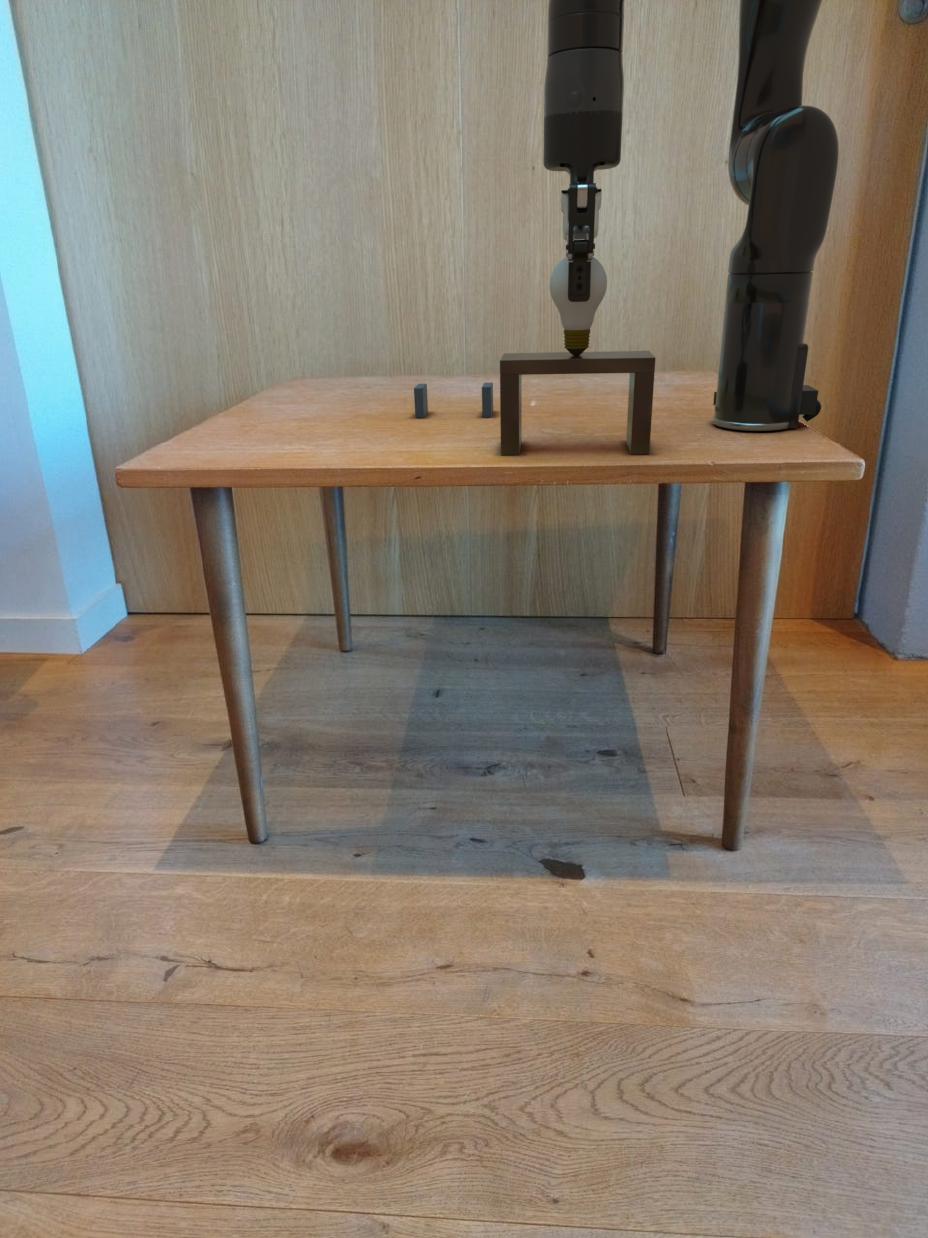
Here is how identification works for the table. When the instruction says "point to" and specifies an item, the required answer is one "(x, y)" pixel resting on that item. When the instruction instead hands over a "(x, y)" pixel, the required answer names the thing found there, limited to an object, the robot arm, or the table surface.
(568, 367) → the dark brown rectangular arch
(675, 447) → the table surface
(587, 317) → the light bulb
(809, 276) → the robot arm
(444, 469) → the table surface
